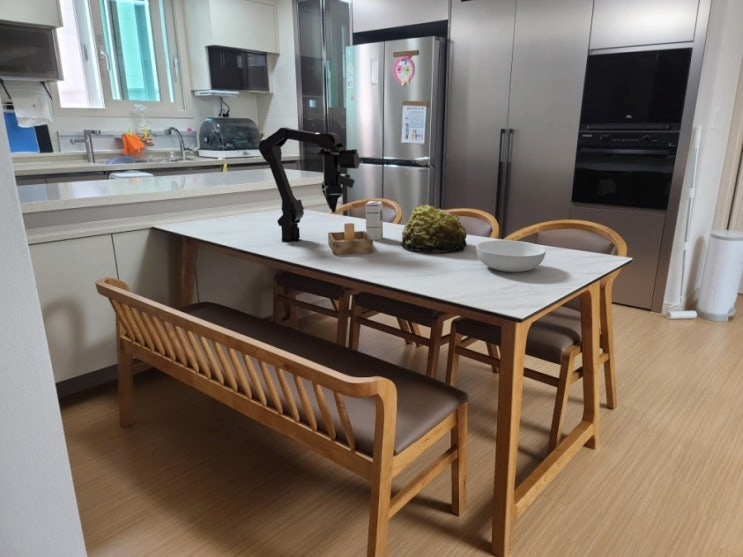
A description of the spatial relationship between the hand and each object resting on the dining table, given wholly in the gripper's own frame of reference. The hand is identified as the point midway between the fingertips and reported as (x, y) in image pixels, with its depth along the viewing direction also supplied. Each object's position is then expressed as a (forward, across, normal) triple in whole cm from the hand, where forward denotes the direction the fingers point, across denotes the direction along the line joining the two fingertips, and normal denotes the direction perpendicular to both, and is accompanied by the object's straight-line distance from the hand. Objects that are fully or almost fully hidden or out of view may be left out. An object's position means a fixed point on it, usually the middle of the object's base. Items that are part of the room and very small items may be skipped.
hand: (332, 210), depth 192 cm
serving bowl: (+13, -47, -50) cm, 70 cm away
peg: (+12, -10, -5) cm, 17 cm away
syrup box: (+13, +5, -17) cm, 22 cm away
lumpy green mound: (+13, -14, -36) cm, 40 cm away
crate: (+12, -10, -5) cm, 17 cm away
